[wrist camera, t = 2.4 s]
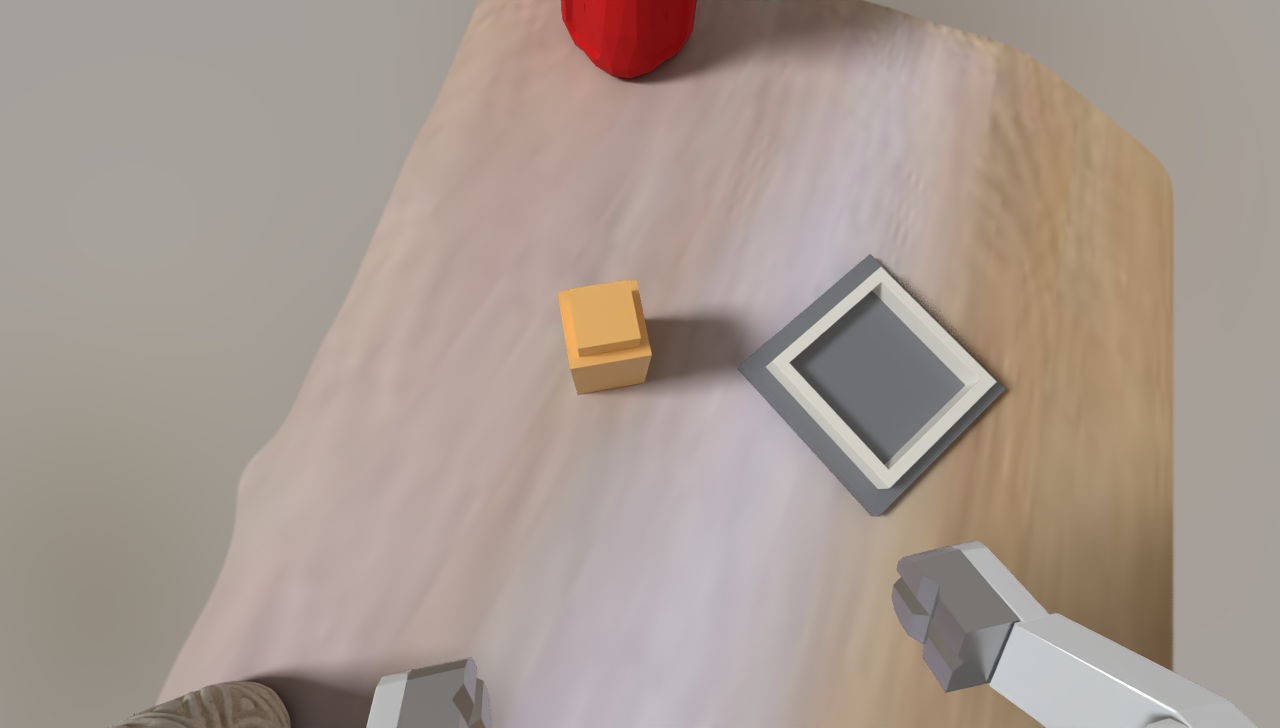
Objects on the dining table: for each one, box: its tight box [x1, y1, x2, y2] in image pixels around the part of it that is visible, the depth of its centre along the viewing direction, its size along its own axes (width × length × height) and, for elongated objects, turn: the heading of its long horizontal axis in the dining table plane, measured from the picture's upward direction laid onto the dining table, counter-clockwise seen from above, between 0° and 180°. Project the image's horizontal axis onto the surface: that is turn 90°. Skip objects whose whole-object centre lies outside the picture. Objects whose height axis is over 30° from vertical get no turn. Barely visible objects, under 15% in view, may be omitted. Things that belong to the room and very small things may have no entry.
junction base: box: [738, 254, 1006, 516], centre depth 37 cm, size 13×13×2 cm
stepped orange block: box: [558, 280, 652, 394], centre depth 33 cm, size 5×5×9 cm
